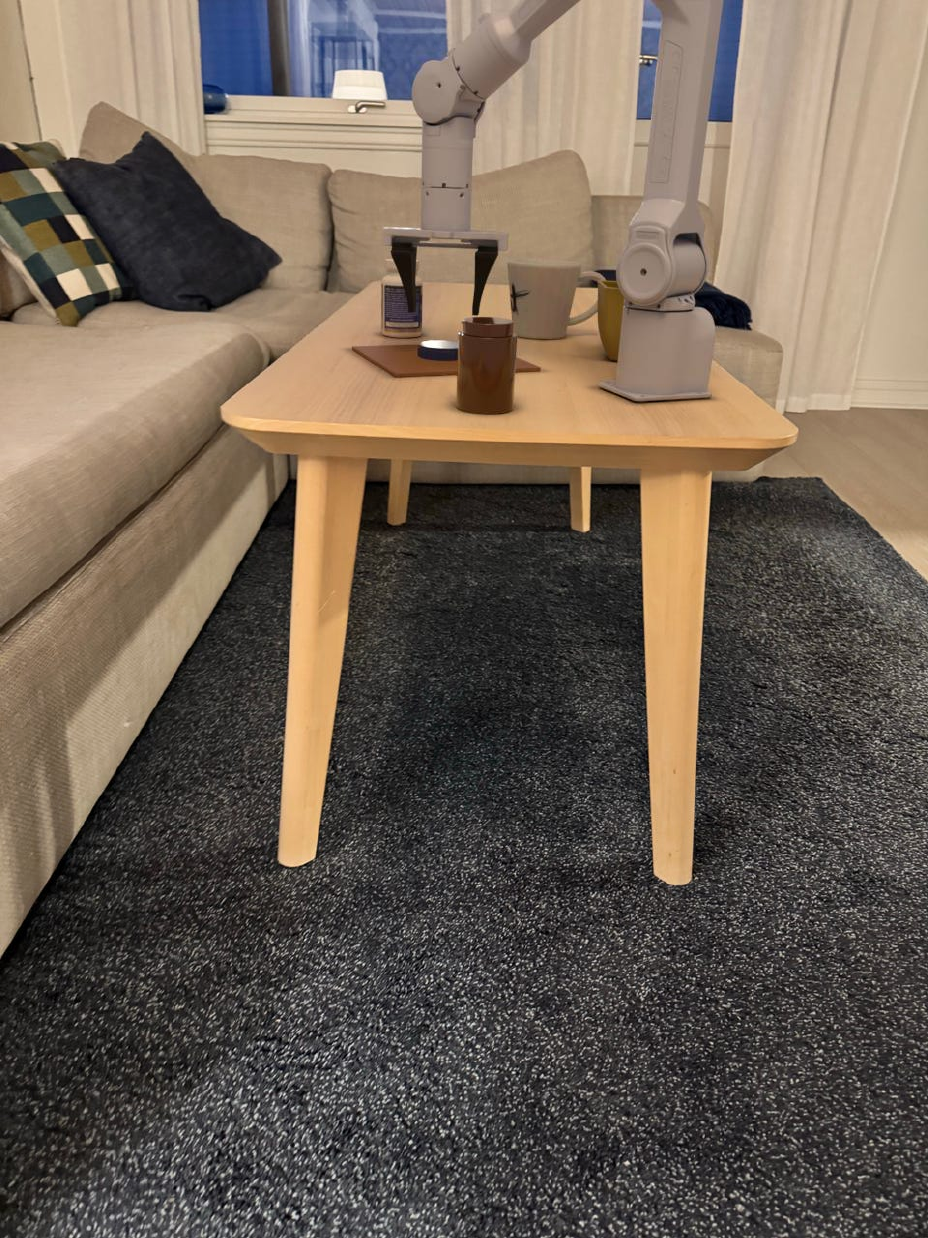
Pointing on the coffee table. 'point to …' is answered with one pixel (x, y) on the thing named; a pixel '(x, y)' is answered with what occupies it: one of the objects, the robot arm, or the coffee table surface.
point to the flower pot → (610, 316)
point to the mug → (546, 296)
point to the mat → (417, 361)
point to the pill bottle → (399, 305)
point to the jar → (486, 365)
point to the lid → (438, 350)
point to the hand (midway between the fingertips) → (443, 312)
